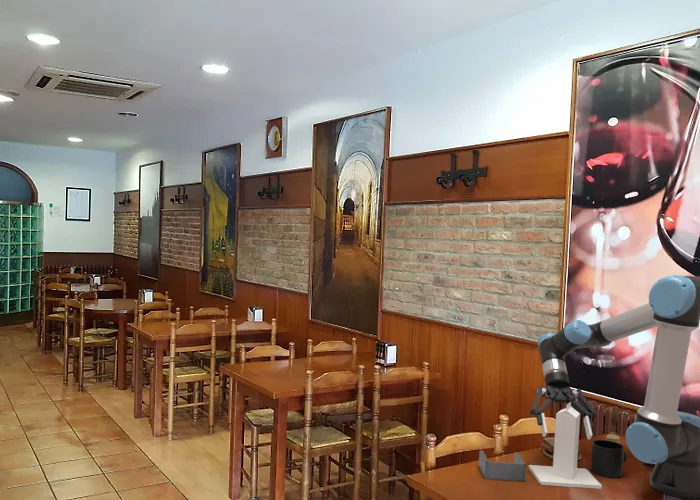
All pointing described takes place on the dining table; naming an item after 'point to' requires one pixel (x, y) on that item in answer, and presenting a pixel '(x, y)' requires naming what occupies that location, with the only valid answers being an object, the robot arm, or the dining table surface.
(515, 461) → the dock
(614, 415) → the hand bell
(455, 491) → the dining table surface
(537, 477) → the board
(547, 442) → the toy sandwich meal
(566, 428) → the milk
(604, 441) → the mug
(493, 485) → the dining table surface
